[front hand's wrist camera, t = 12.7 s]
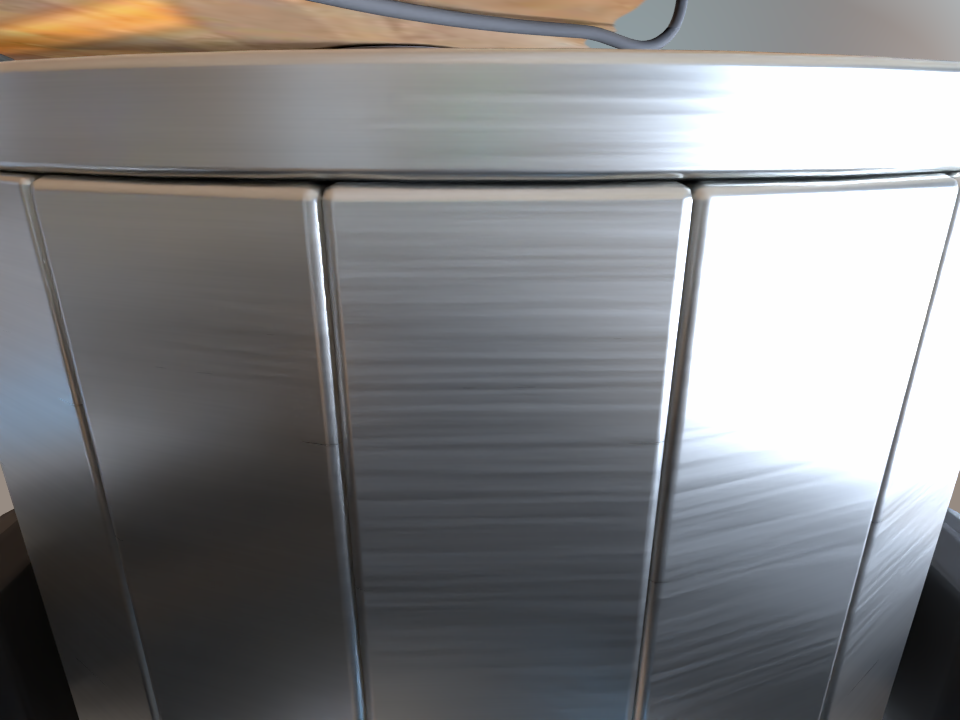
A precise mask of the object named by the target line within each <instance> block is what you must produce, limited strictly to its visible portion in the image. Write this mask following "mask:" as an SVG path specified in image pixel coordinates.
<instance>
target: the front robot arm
mask: <svg viewBox="0 0 960 720" xmlns="http://www.w3.org/2000/svg"><path fill="white" fill-rule="evenodd" d="M307 1H312V2H317V3H322V4H326V5H331V6H336V7H341V8H346V9H350V10H355V11H360V12H366V13H371V14H376V15H382V16H387V17H393V18H399V19H405V20H411V21H418V22H424V23H431V24H438V25H445V26H453V27H461V28H469V29H478V30H487V31H496V32H507V33H518V34H530V35H543V36H556V37H570V38H583V39H590V40H594V41H598V42H601V43H604V44H607V45H610V46H612V47H615V48H618V49H649V50H659V49H661V48H662V47H664V46H665V45H666V44H668V43H669V42H670V41H671V40H672V39H673V37H674V36H675V35H676V34H677V32H678V31H679V29H680V27H681V25H682V22H683V20H684V17H685V13H686V9H687V4H688V0H676V4H675V9H674V13H673V16H672V19H671V21H670V23H669V25H668V27H667V28H666V30H665V31H664V32H663V33H661V34H660V35H659V36H657V37H656V38H654V39H651V40H647V41H638V40H634V39H630V38H627V37H624V36H622V35H619V34H616V33H614V32H611V31H608V30H605V29H602V28H598V27H594V26H588V25H578V24H566V23H554V22H542V21H531V20H520V19H511V18H502V17H494V16H486V15H478V14H470V13H463V12H456V11H450V10H444V9H438V8H432V7H426V6H420V5H415V4H409V3H404V2H399V1H394V0H307ZM0 720H79V716H78V713H77V710H76V707H75V703H74V700H73V697H72V694H71V690H70V687H69V684H68V681H67V677H66V674H65V671H64V668H63V665H62V661H61V658H60V655H59V652H58V648H57V645H56V642H55V639H54V635H53V632H52V629H51V626H50V622H49V619H48V616H47V613H46V610H45V606H44V603H43V600H42V597H41V593H40V590H39V587H38V584H37V580H36V577H35V574H34V571H33V567H32V564H31V561H30V558H29V554H28V551H27V548H26V545H25V542H24V538H23V535H22V532H21V529H20V525H19V522H18V519H17V516H16V512H15V509H13V510H11V511H9V512H7V513H5V514H3V515H2V516H0ZM882 720H960V514H959V513H958V512H956V511H954V510H952V509H950V508H947V512H946V515H945V518H944V521H943V524H942V528H941V531H940V534H939V537H938V541H937V544H936V547H935V550H934V553H933V557H932V560H931V563H930V566H929V570H928V573H927V576H926V579H925V582H924V586H923V589H922V592H921V595H920V599H919V602H918V605H917V608H916V611H915V615H914V618H913V621H912V624H911V628H910V631H909V634H908V637H907V641H906V644H905V647H904V650H903V653H902V657H901V660H900V663H899V666H898V670H897V673H896V676H895V679H894V682H893V686H892V689H891V692H890V695H889V699H888V702H887V705H886V708H885V711H884V715H883V718H882Z"/></svg>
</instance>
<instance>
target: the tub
mask: <svg viewBox="0 0 960 720" xmlns="http://www.w3.org/2000/svg"><path fill="white" fill-rule="evenodd" d="M0 464H1V467H2V470H3V474H4V477H5V480H6V483H7V486H8V490H9V493H10V496H11V499H12V503H13V506H14V509H15V512H16V516H17V519H18V522H19V525H20V529H21V532H22V535H23V538H24V542H25V545H26V548H27V551H28V554H29V558H30V561H31V564H32V567H33V571H34V574H35V577H36V580H37V584H38V587H39V590H40V593H41V597H42V600H43V603H44V606H45V610H46V613H47V616H48V619H49V622H50V626H51V629H52V632H53V635H54V639H55V642H56V645H57V648H58V652H59V655H60V658H61V661H62V665H63V668H64V671H65V674H66V677H67V681H68V684H69V687H70V690H71V694H72V697H73V700H74V703H75V707H76V710H77V713H78V716H79V720H882V718H883V715H884V711H885V708H886V705H887V702H888V699H889V695H890V692H891V689H892V686H893V682H894V679H895V676H896V673H897V670H898V666H899V663H900V660H901V657H902V653H903V650H904V647H905V644H906V641H907V637H908V634H909V631H910V628H911V624H912V621H913V618H914V615H915V611H916V608H917V605H918V602H919V599H920V595H921V592H922V589H923V586H924V582H925V579H926V576H927V573H928V570H929V566H930V563H931V560H932V557H933V553H934V550H935V547H936V544H937V541H938V537H939V534H940V531H941V528H942V524H943V521H944V518H945V515H946V512H947V508H948V505H949V502H950V499H951V495H952V492H953V489H954V486H955V483H956V479H957V476H958V473H959V469H960V62H958V61H943V60H926V59H910V58H893V57H877V56H860V55H832V54H804V53H775V52H748V51H707V50H649V49H591V48H378V49H307V50H247V51H215V52H184V53H153V54H121V55H103V56H84V57H66V58H48V59H30V60H15V61H4V62H0Z"/></svg>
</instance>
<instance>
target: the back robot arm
mask: <svg viewBox="0 0 960 720" xmlns="http://www.w3.org/2000/svg"><path fill="white" fill-rule="evenodd" d="M378 48H435V47H415V46H369V47H352V48H342V49H378Z"/></svg>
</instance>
